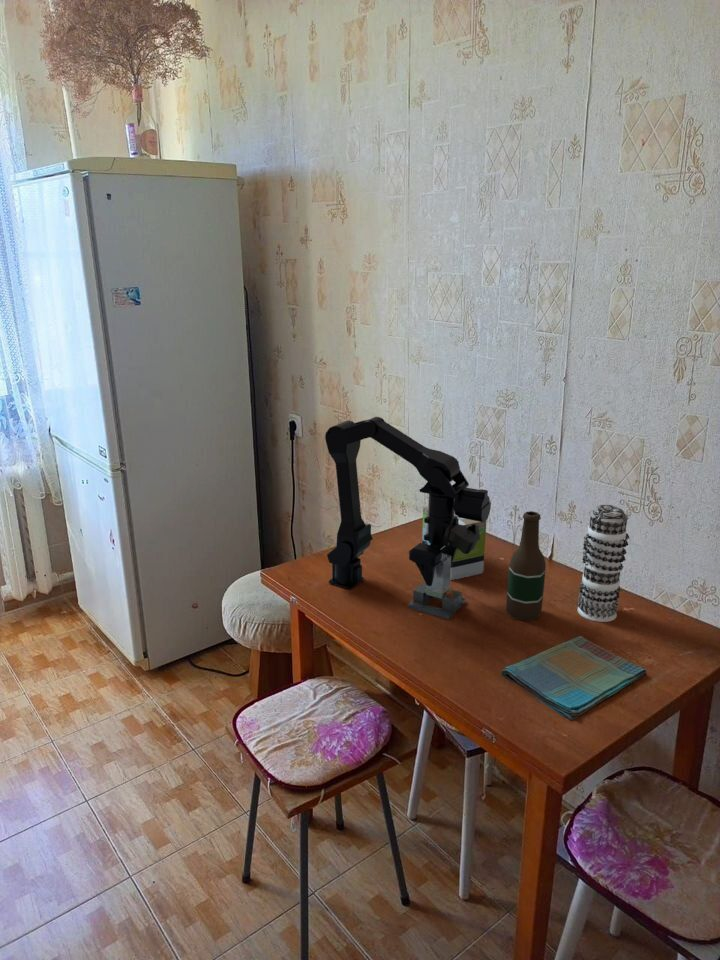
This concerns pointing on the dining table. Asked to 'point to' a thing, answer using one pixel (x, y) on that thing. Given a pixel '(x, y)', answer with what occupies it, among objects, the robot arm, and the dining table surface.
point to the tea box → (463, 562)
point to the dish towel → (573, 676)
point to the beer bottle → (526, 573)
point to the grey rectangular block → (440, 578)
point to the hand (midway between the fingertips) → (438, 577)
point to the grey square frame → (449, 601)
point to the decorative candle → (603, 563)
